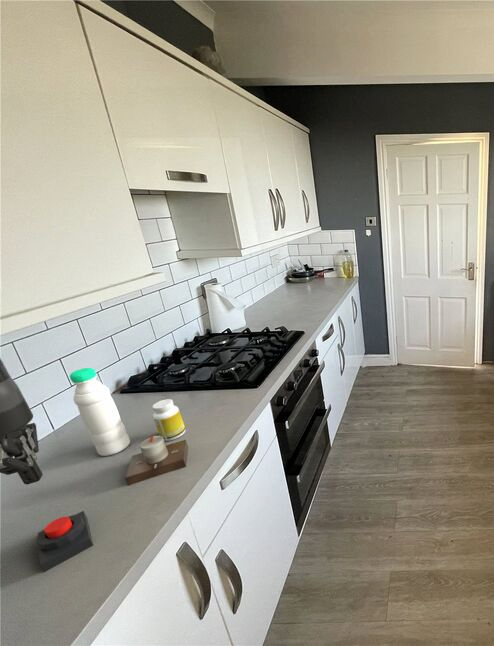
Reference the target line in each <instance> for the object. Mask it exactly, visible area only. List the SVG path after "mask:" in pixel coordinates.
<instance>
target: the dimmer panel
mask: <svg viewBox="0 0 494 646" xmlns="http://www.w3.org/2000/svg"><path fill="white" fill-rule="evenodd" d="M165 445H166V448H167V450H168V456H167V457H166V458H165V459H163V460H161V461H159V462H157V463H153V464H148V463H146V461H145V458H144V456H143V453H142V452H140V453H137V454H133V455H131V458H130V461H129V464H128V467H127V470H126V473H125V477H124V479H125V481H126V483H127V485H128V486H131V485H135V484H138V483H140V482H144V481H146V480H149V479H152V478H155V477H159V476H161V475H164V474H168V473H171V472H174V471H177V470H180V469H183V468H186V467H187V460H188V451H189V444H188V442H187V439H183V440H180V441H176V442H174V443H170V444H165Z"/></svg>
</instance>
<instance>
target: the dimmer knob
mask: <svg viewBox="0 0 494 646" xmlns="http://www.w3.org/2000/svg"><path fill="white" fill-rule="evenodd" d="M166 445H167V444H166V441H164V440H163V437H162V436H160V435H151V436H150V437H149V438H146V439H144V440H143V441H142V442H141V443H140V444H139V449H140V451H141V453H143V456H144V458H145V461H146V463H148V464H153V463H157V462H159V461H161V460H163V459H165V458H166V457H167V456H168V450H167V448H166Z"/></svg>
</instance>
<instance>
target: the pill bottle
mask: <svg viewBox="0 0 494 646" xmlns="http://www.w3.org/2000/svg"><path fill="white" fill-rule="evenodd" d="M152 409H153V414H152V420H153V422H154V424H155V427H156V430H157V432H158V434H159V435H158V436H162V437H163V440H164V442H170V441H175V440H177V439H179V438H180V437H182V436H183V435H185V433H186V431H187V429H186V426H185V423H184V420H183V418H182V414H181V411H180V409H179V407H178V406H177V405H174V401H173V399H170V398H167V399H162V400H159V401H157V402H155V403H154V404H153V405H152Z"/></svg>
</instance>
